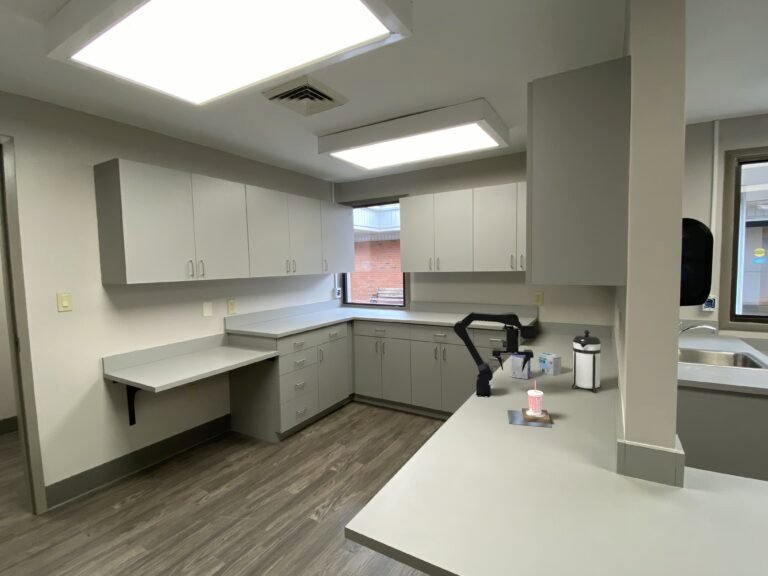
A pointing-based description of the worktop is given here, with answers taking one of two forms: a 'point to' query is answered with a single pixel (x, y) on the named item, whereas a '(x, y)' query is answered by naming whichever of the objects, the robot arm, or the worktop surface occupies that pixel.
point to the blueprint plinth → (519, 419)
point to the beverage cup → (535, 401)
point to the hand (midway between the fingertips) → (512, 370)
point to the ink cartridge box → (519, 367)
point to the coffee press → (586, 361)
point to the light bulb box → (550, 363)
